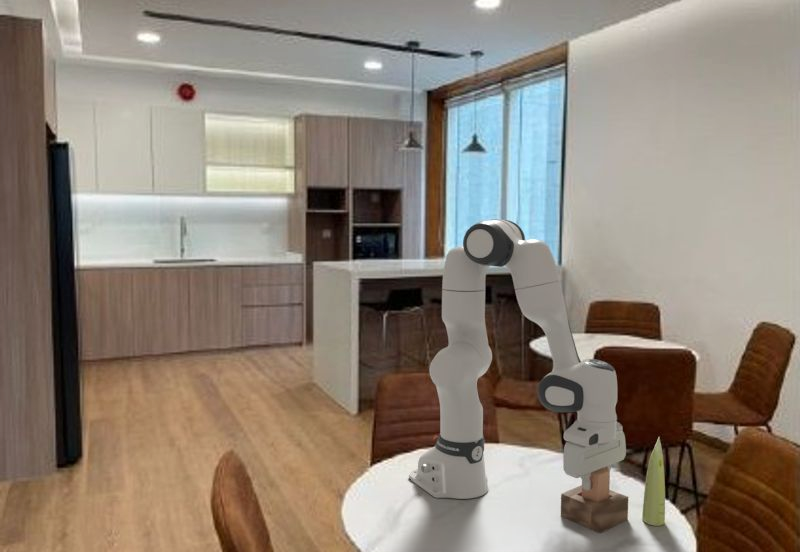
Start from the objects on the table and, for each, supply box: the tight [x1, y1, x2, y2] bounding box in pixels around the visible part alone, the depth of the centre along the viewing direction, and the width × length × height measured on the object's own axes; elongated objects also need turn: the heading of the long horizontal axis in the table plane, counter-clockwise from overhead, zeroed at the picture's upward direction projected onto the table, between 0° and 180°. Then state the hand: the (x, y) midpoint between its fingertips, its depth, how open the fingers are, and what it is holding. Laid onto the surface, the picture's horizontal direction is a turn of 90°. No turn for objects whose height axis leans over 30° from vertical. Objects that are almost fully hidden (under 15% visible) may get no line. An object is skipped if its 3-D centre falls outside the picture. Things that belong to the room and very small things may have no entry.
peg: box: [581, 468, 611, 503], centre depth 155 cm, size 4×4×9 cm
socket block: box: [560, 484, 629, 534], centre depth 156 cm, size 11×11×6 cm
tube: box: [641, 437, 666, 527], centre depth 153 cm, size 6×5×20 cm
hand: (595, 485), depth 155 cm, fingers closed on peg, 4 cm apart
